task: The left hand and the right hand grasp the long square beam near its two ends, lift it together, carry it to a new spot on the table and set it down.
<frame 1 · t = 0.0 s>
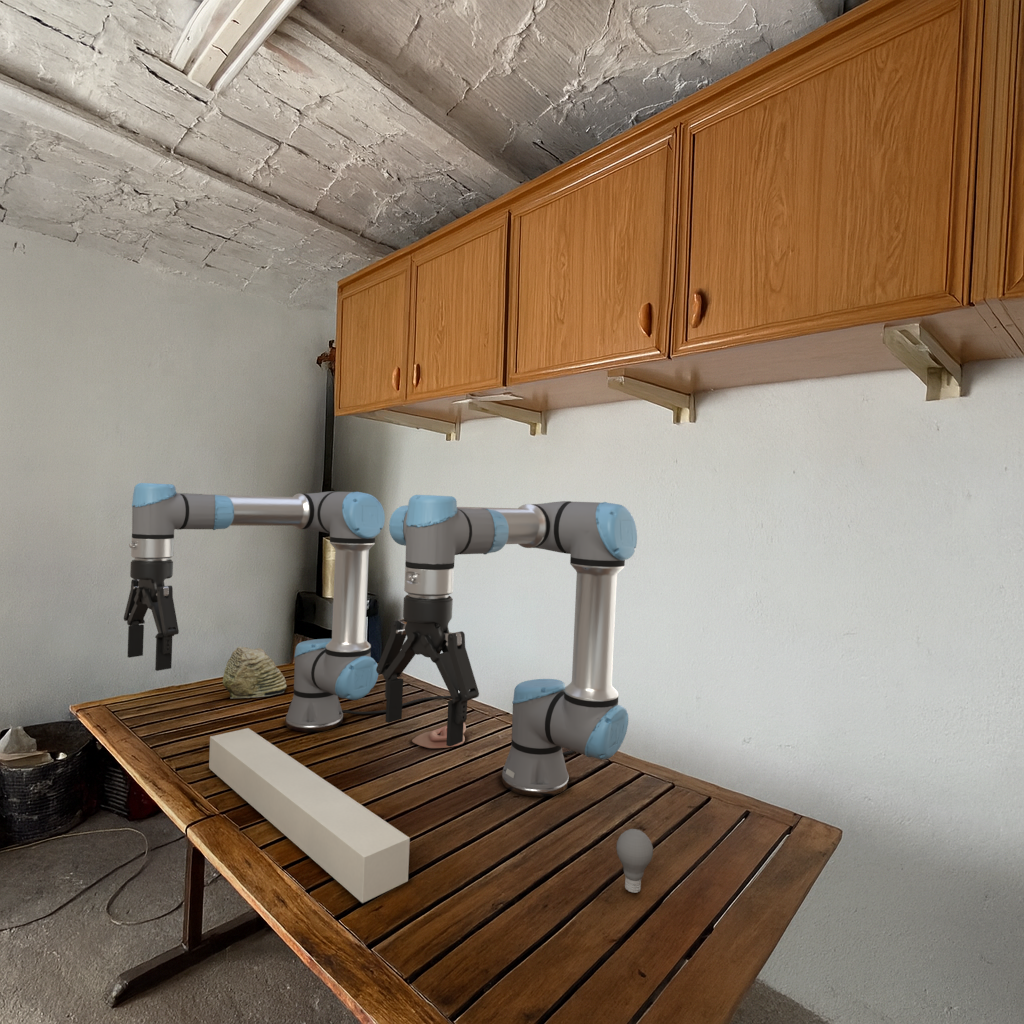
left hand: (148, 662, 129), 28 cm above the table, tool pointing down, fingers open, 13 cm apart
right hand: (422, 731, 98), 28 cm above the table, tool pointing down, fingers open, 13 cm apart
long square beam: (292, 816, 125), on the table
light bulb: (632, 891, 106), on the table
anatomical model: (439, 741, 167), on the table
fossil: (254, 694, 198), on the table
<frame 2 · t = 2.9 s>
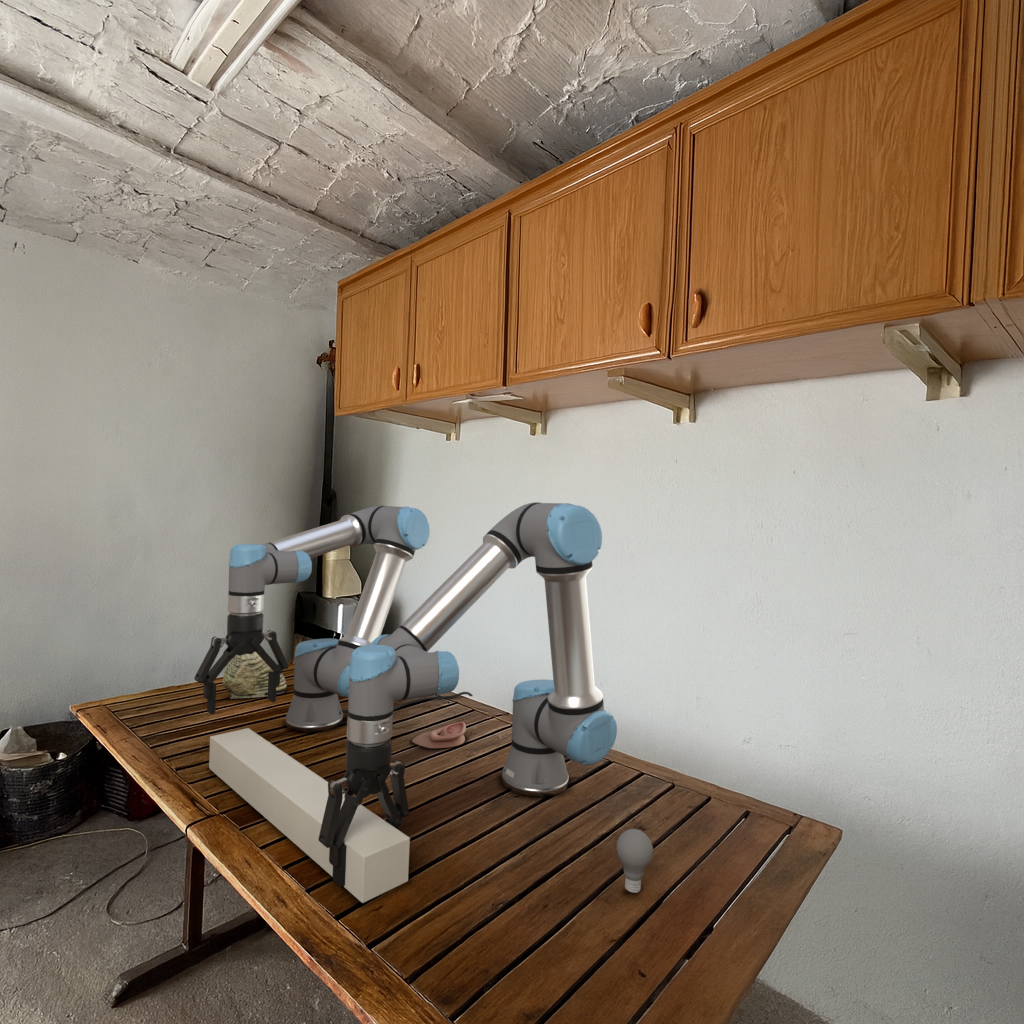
left hand: (242, 706, 143), 15 cm above the table, tool pointing down, fingers open, 13 cm apart
right hand: (363, 871, 107), 0 cm above the table, tool pointing down, fingers closed on long square beam, 9 cm apart
long square beam: (292, 816, 125), on the table, touching right hand
everything else where it was.
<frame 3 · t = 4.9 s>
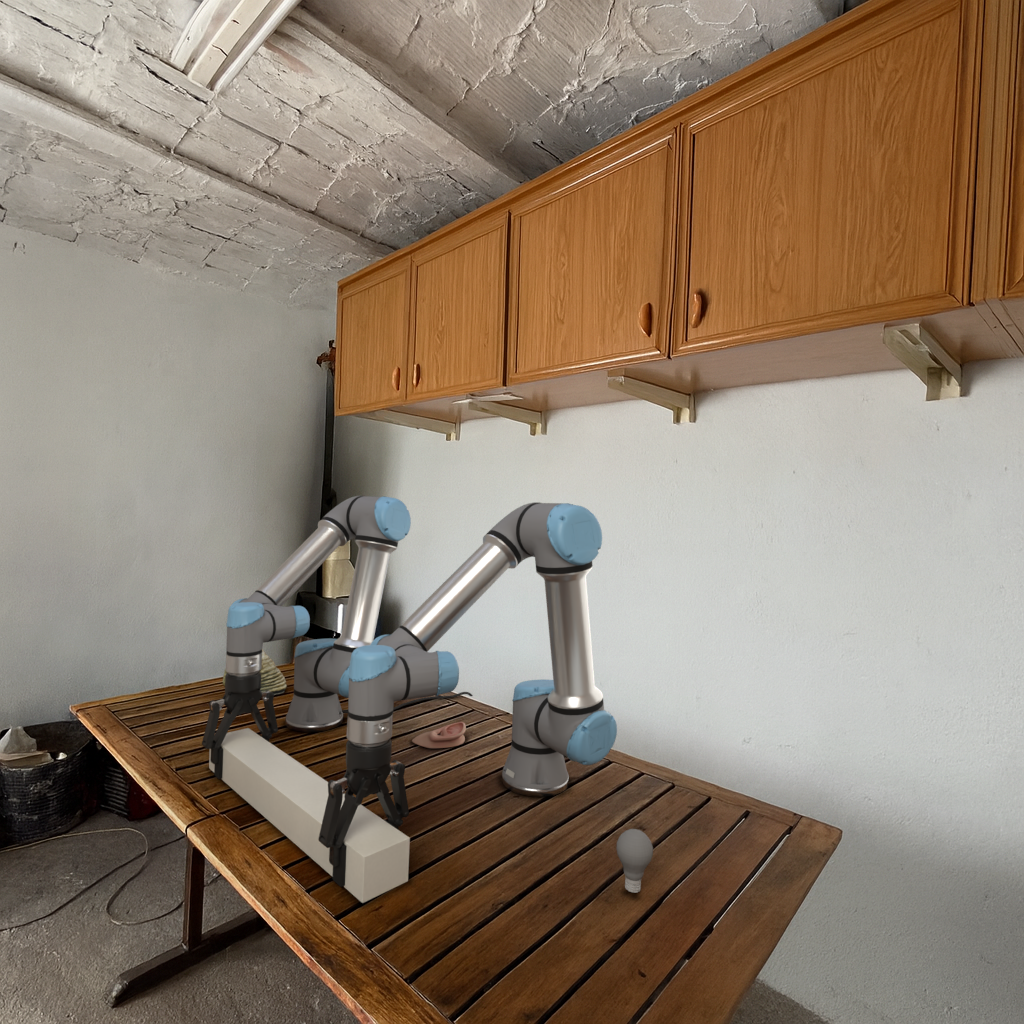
left hand: (239, 770, 143), 0 cm above the table, tool pointing down, fingers closed on long square beam, 9 cm apart
right hand: (363, 871, 107), 0 cm above the table, tool pointing down, fingers closed on long square beam, 9 cm apart
long square beam: (292, 816, 125), on the table, touching left hand, right hand
everything else where it was.
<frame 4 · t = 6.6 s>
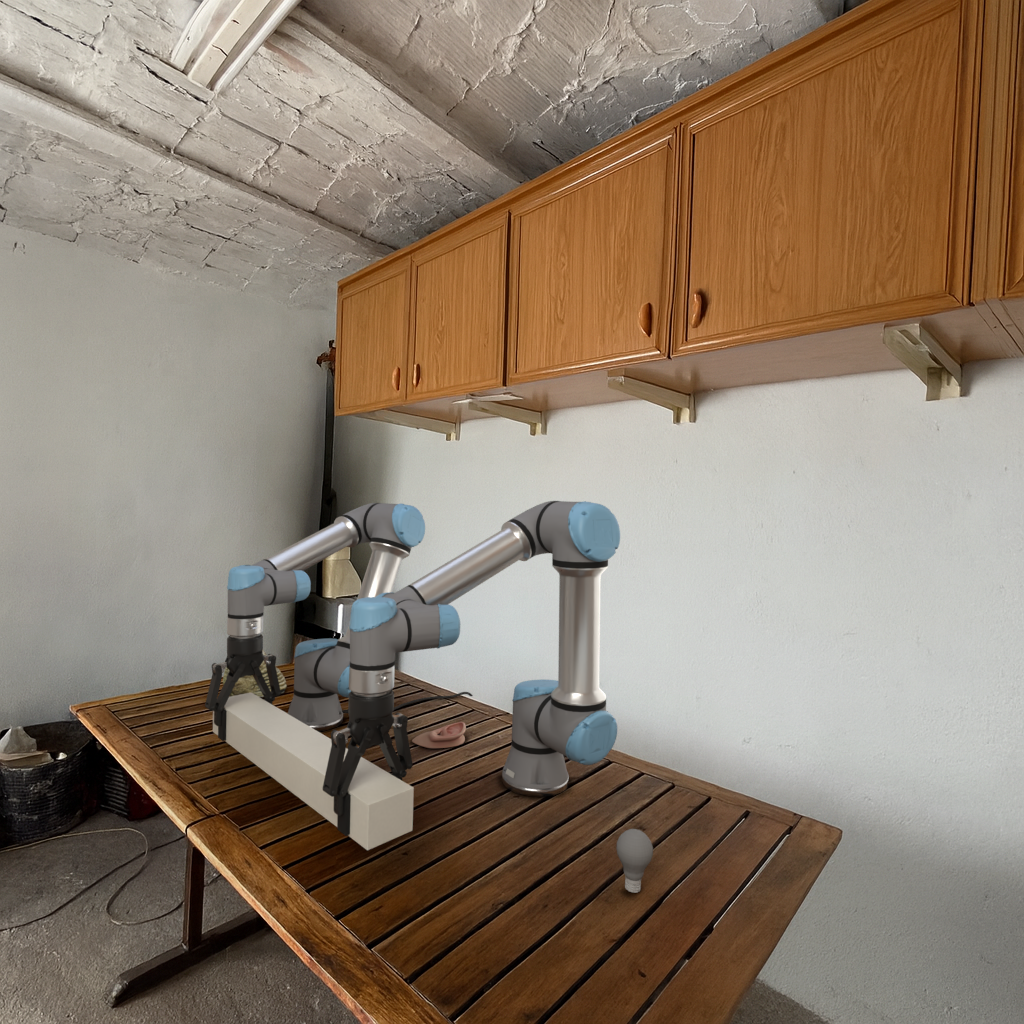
left hand: (243, 733, 144), 9 cm above the table, tool pointing down, fingers closed on long square beam, 9 cm apart
right hand: (368, 821, 108), 9 cm above the table, tool pointing down, fingers closed on long square beam, 9 cm apart
long square beam: (297, 773, 126), point 8 cm above the table, touching left hand, right hand
everything else where it was.
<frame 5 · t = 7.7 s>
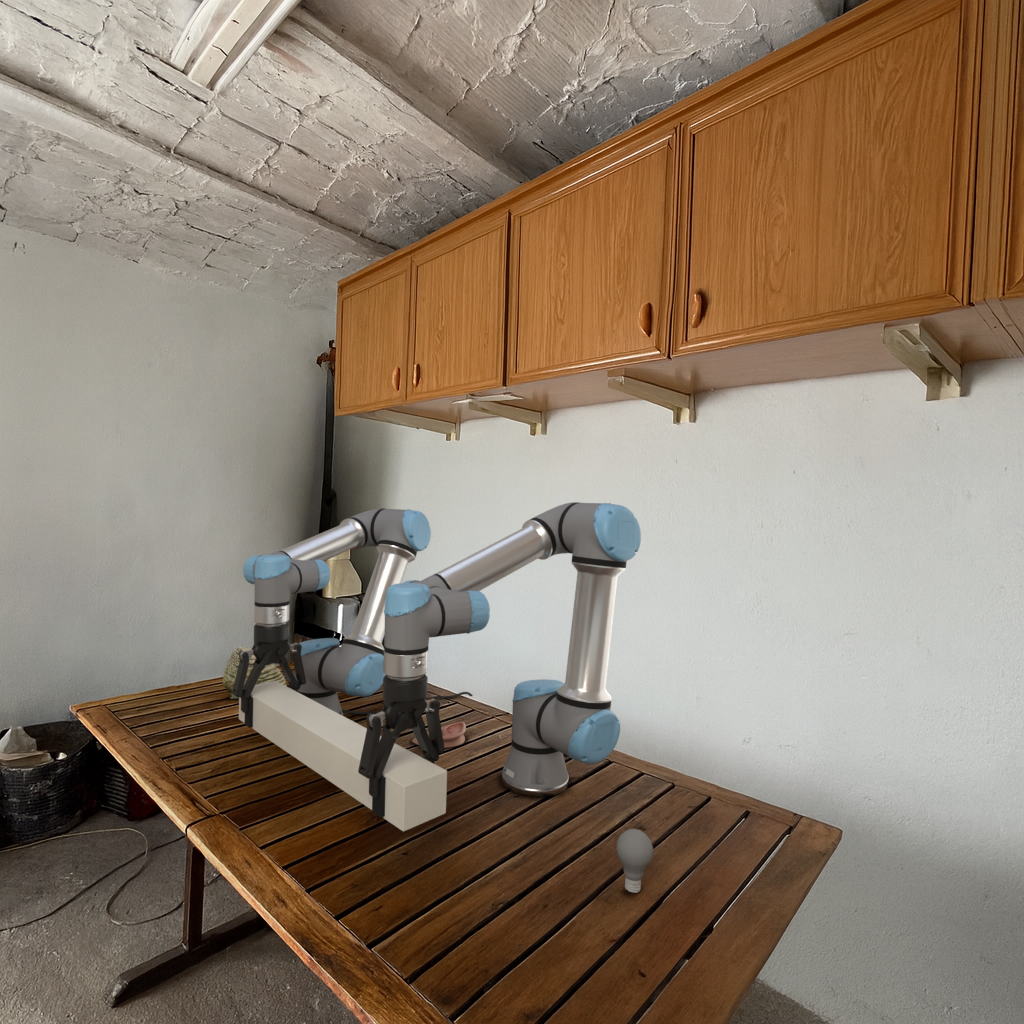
left hand: (269, 720, 145), 11 cm above the table, tool pointing down, fingers closed on long square beam, 9 cm apart
right hand: (402, 804, 109), 11 cm above the table, tool pointing down, fingers closed on long square beam, 9 cm apart
long square beam: (326, 759, 127), point 11 cm above the table, touching left hand, right hand
everything else where it was.
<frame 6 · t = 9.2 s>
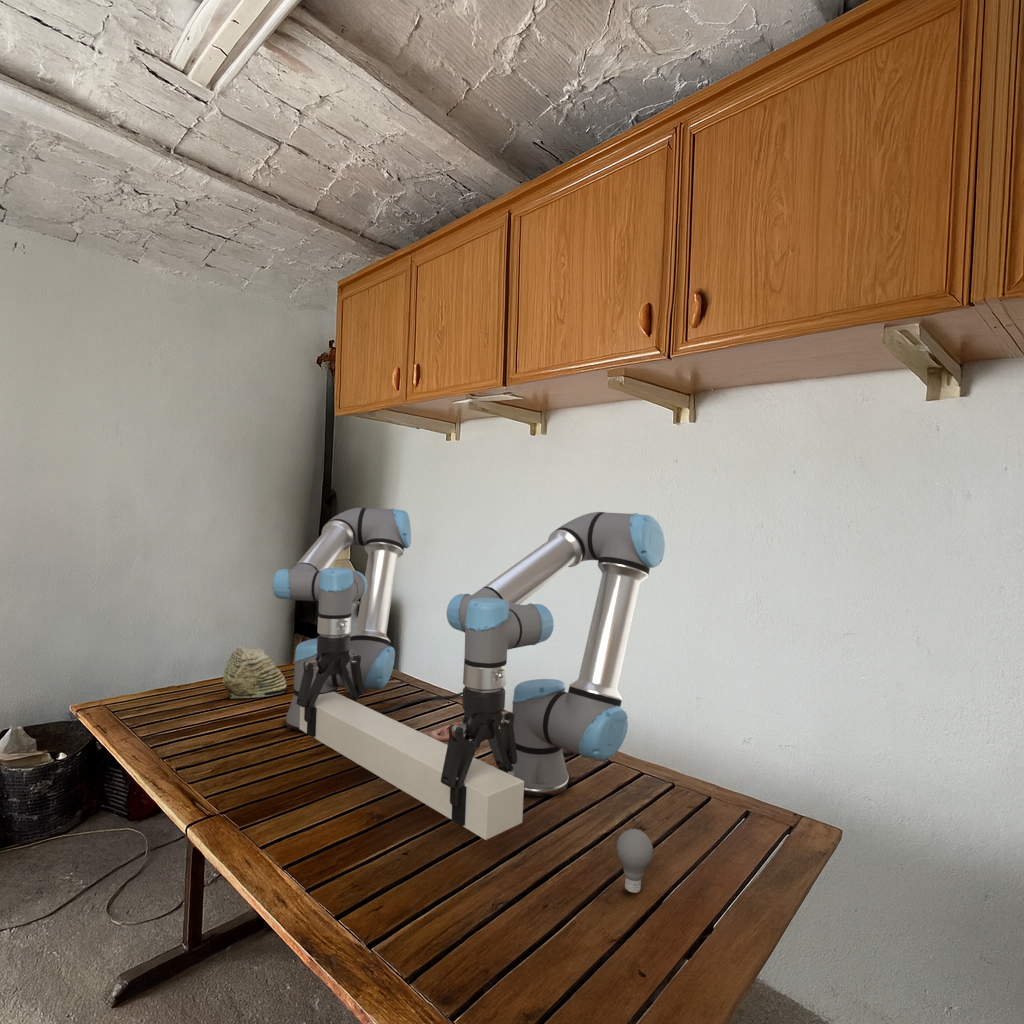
left hand: (330, 730, 148), 9 cm above the table, tool pointing down, fingers closed on long square beam, 9 cm apart
right hand: (478, 813, 112), 9 cm above the table, tool pointing down, fingers closed on long square beam, 9 cm apart
long square beam: (394, 768, 130), point 8 cm above the table, touching left hand, right hand
everything else where it was.
when the left hand's fingers open (1 cm above the table, at t = 10.4 s): long square beam stays where it is, on the table.
when the right hand's fingers open (1 cm above the table, at t = 10.4 s): long square beam stays where it is, on the table.
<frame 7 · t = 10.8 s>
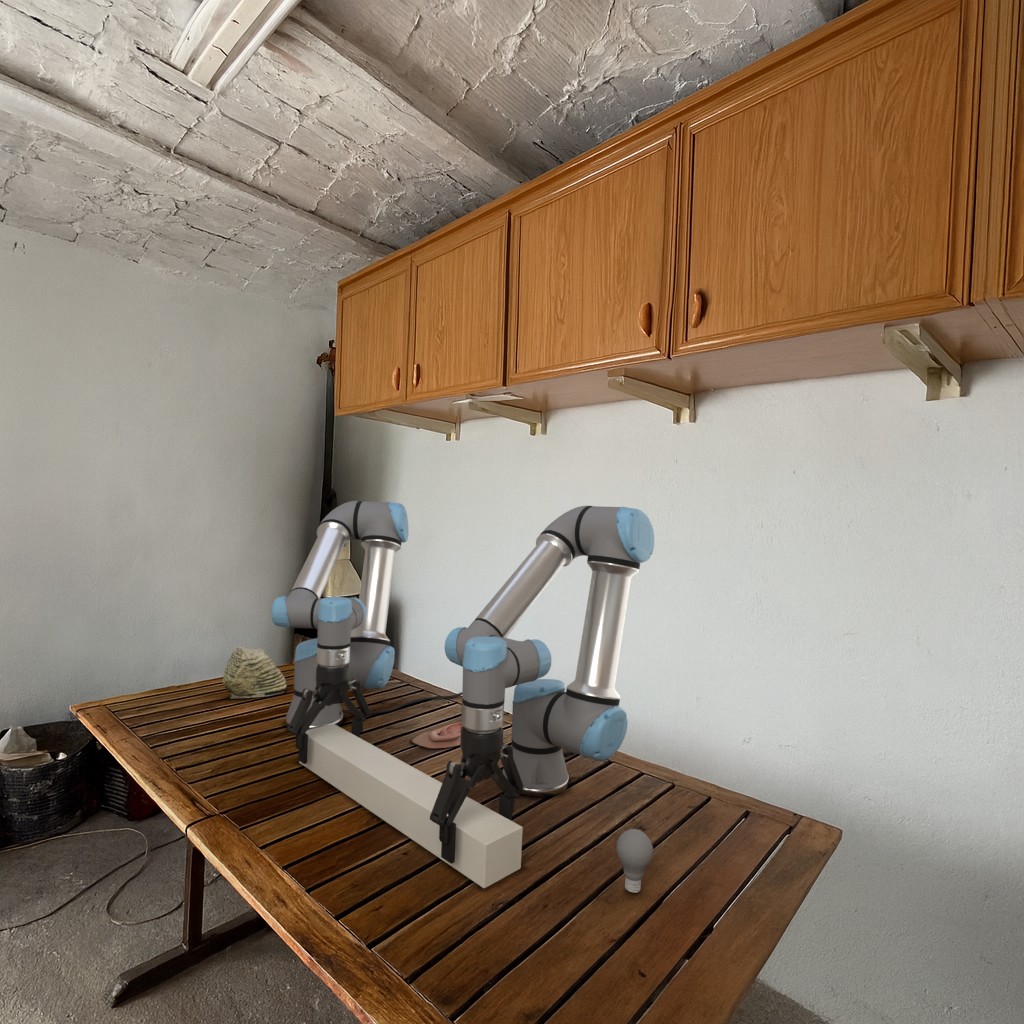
left hand: (329, 754, 148), 3 cm above the table, tool pointing down, fingers open, 13 cm apart
right hand: (477, 845, 112), 3 cm above the table, tool pointing down, fingers open, 13 cm apart
long square beam: (393, 807, 130), on the table
everything else where it was.
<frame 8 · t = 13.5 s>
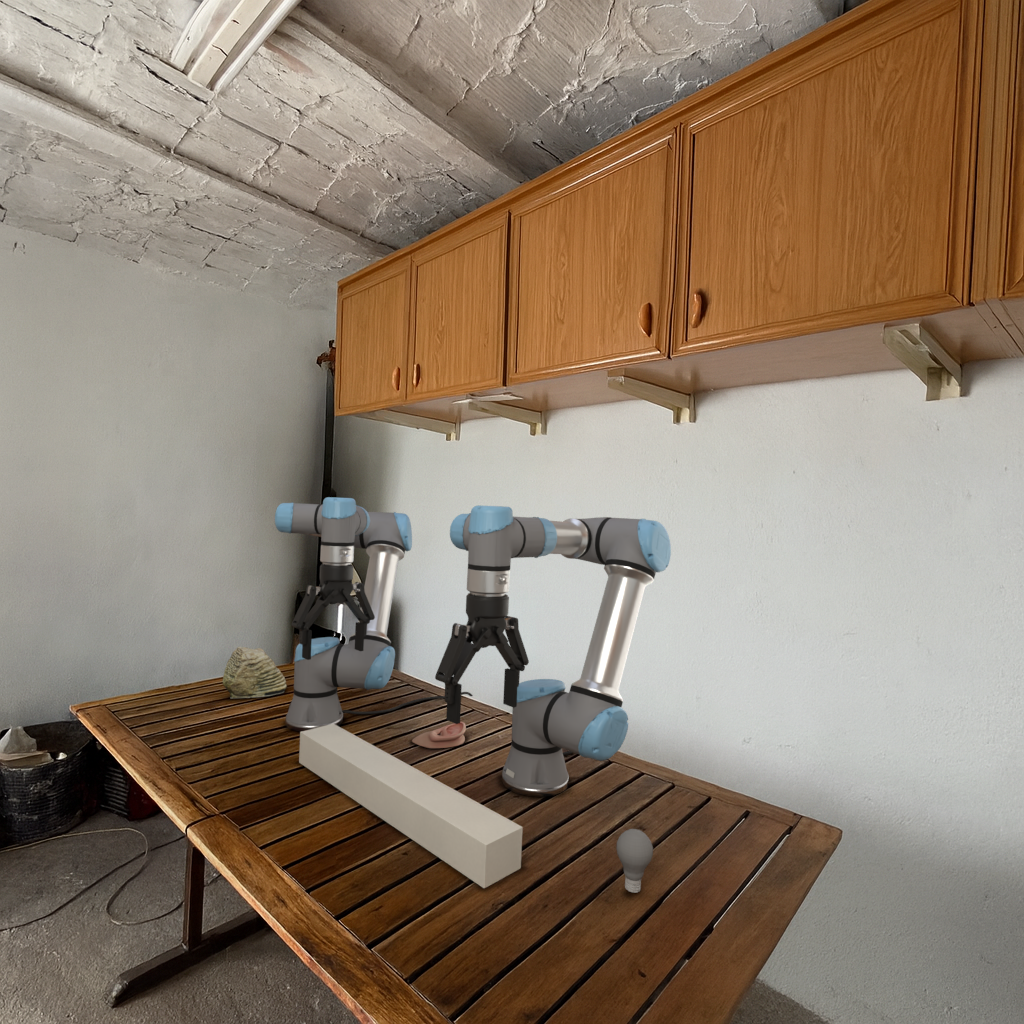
left hand: (333, 654, 148), 27 cm above the table, tool pointing down, fingers open, 13 cm apart
right hand: (482, 713, 112), 27 cm above the table, tool pointing down, fingers open, 13 cm apart
nothing on the table moved.
at the end: long square beam inside the target area (0.2 cm from its centre), on the table; long square beam tilted 0°; long square beam never tilted more than 2° during the clip; both hands held the long square beam at the same time; the left hand is holding nothing; the right hand is holding nothing; long square beam at rest at the end (0.0 cm/s) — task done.
